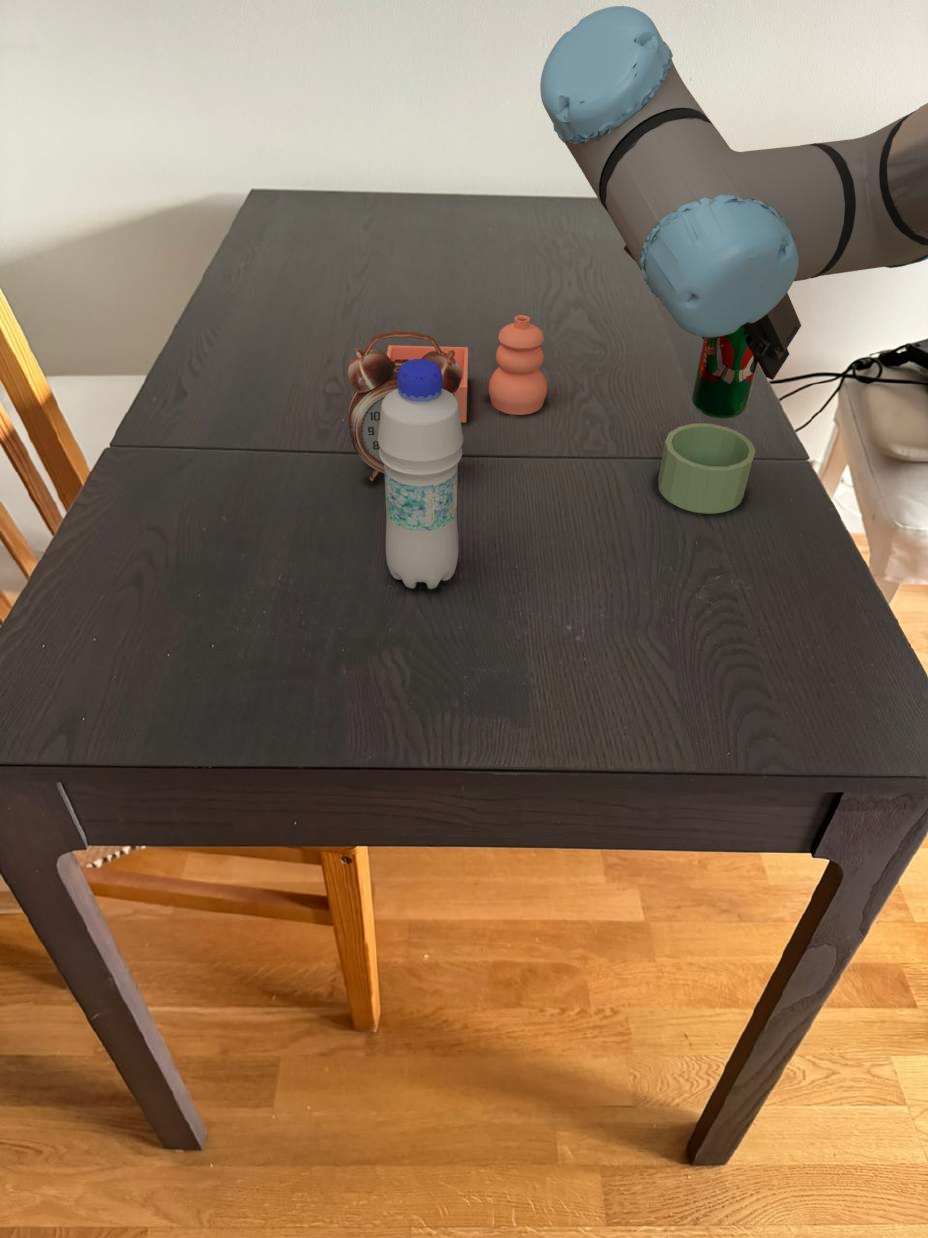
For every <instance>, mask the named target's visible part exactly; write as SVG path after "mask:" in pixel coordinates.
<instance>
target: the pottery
mask: <svg viewBox="0 0 928 1238" xmlns="http://www.w3.org/2000/svg"><path fill="white" fill-rule="evenodd" d="M513 318H514V319H513V320H514V322H512V323H509V324H507V325H505V326H504V327H502V328H501V329H500V330H499V334H498V336H497V338H498V340H499V342H500V345H499V346H498V347H497V349H496V353H495V360H496V364H497V366H498V367H497V368H496V369H495V370H494V372H493V373H492V374H491V377H490V379H489V382H488V394H489V398H490V403H491V405H492V407H493V408H494V409H495V410H497V411H499V412H501V413H504V414H508V415H513V416H523V415H530V414H534V413H536V412H538V411H540V410H541V409H542V408H543V405H544V402H545V400H546V397H547V394H548V384H547V383H548V382H547V379H546V377H545V375H544V373H543V371H542V370H540V368H541V366H542V365H543V364H544V359H545V354H544V351H543V348H542V347H541V345H542V344H543V342H544V340H545V339H544V338H545V337H544V333H543V331H542V330H541V329H540V328H539V327H538V326H536V325H534V324H532V323H530V322H531V318H530V317H529V316H528V315H524V314H518V315H515V317H513ZM439 348H440V349H441V351H442V352H445V353H448V352H449V351H450V350H453V351H454V352H455V356H454V357H453V358H454V359H455V360H456V361H457V362H458V363H459V365H460V367H461V370H462V380H461V383H460V385H459V388H458V389H457V391H456V392H455V393H454V395H455V398H456V399H457V401H458V404H459V412H460V421H461V423H467V413H468V412H467V410H468V375H469V374H468V373H469V371H468V370H469V369H468V368H469V347H468V346H439ZM431 351H436V349H435V347H434V346H429V345H393V344H392V345H390V344H389V345H388V346H387V351H386V355H387V356H388V357H389V358H390V359H391V360H392V362H393V361H395V360H398V359H408V360H413V359H421V358H422V357H423V356H424V355H426V354H427V353H428V352H431Z"/></svg>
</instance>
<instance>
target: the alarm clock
mask: <svg viewBox="0 0 928 1238" xmlns="http://www.w3.org/2000/svg"><path fill="white" fill-rule="evenodd" d="M392 338H413V339H414V338H415V339H418V340H425V341H428V342H429V343H431V344H432V345H433V346H434V347H435V349H436V351H431V352H428V353H427V354H426V355H424V356H423V357H422V358H421V359H427V360H430V361H433V362H435V363H436V364H437V365H438V366H439V367H440V369H441V371H442V377H443V386H442V389H444V390H446V391H448V392H450V393H451V394H452V395H453V396H454V397H455V395H454V393H455V392H456V391H457V389H458V388H459V385H460V383H461V380H462V370H461V367H460V365H459V363H458V362H457V361H456V360H455V359H454V358H453V357H454V356H455V352H454V351H453V350H450V351H449V352H448V353H445V352H442V351H441V349H440V348H439V347H440V346H439V344H438V342H437V341H436V339H435V338H434V337H432V335H427V334H423V333H419V332H414V331H392V332H387V333H382V334H379V335H376V336H375V335H374V337H372V339H370V341H369V342H368V344H367V346H366V348H365V349H364V350H363V351H362V349H360V348H355V349H354V355H355V357H354V358H352V359H351V360H350V361H349V366H348V370H347V376H348V381H349V384H350V385H351V387H352V390H353V392H352V395H351V399H350V404H349V408H348V428H349V434H350V439H351V443H352V445H353V447H354V450H355V452H356V453H357V455H358V456H359V457H360V459H362V460H363V462H364V463H366V464H367V465H368V466H369V467H371V468H372V469H374V470H373V472H372V475H370V476H369V481H371V482H375V480H376V477H377V476H378V475H379V474H380V473H382V474H384V463H383V462H382V460H381V458H380V455H379V449H380V447H379V444H378V433H379V424H380V414H381V405H382V401H383V399H384V398H385V397H386V395H388V394H389V393H390V392H392V391H393V390H396V389H398V380H397V376H398V371H399V368H400V367H401V366H402V364H403V363H405V362H407V361H409V360H408V359H398V360H395V361H393V362H392V360H391V359H390V358H389V357H388V356H387V353H385V352H383V351H382V350H379V349H372V348H373V346H374V344H376V343H378V342H379V341H382V340H386V339H392Z"/></svg>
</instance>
